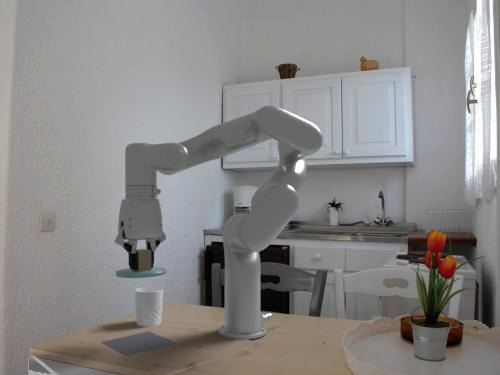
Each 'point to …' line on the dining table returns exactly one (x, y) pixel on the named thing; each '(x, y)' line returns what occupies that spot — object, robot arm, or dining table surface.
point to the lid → (142, 267)
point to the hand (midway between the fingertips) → (141, 267)
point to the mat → (138, 343)
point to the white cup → (148, 306)
